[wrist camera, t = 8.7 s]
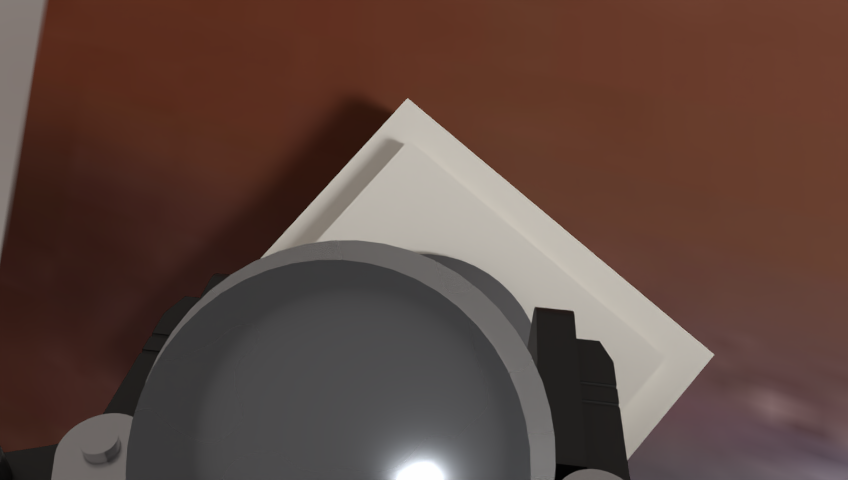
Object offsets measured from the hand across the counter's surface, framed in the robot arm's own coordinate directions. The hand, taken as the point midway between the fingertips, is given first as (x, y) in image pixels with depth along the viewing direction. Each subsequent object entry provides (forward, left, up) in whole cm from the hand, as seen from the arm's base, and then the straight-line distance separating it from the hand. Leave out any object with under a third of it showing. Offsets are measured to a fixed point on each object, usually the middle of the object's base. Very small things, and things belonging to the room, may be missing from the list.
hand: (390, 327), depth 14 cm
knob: (-1, +1, -4) cm, 5 cm away
